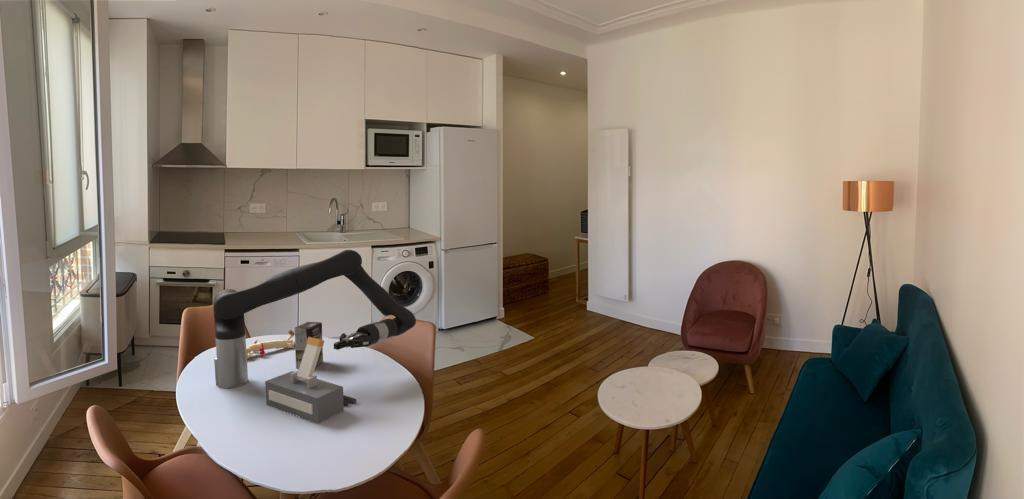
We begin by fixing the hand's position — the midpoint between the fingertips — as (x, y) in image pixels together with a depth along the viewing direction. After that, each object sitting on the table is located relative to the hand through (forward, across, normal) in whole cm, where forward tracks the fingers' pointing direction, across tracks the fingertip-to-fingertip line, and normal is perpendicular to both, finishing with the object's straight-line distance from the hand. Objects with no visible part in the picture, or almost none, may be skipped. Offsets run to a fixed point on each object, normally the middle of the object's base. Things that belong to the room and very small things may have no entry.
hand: (335, 346), depth 174 cm
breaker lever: (+13, 0, +7) cm, 15 cm away
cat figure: (-12, -55, +17) cm, 59 cm away
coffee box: (-13, -29, +17) cm, 36 cm away
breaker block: (+10, 0, +16) cm, 19 cm away
